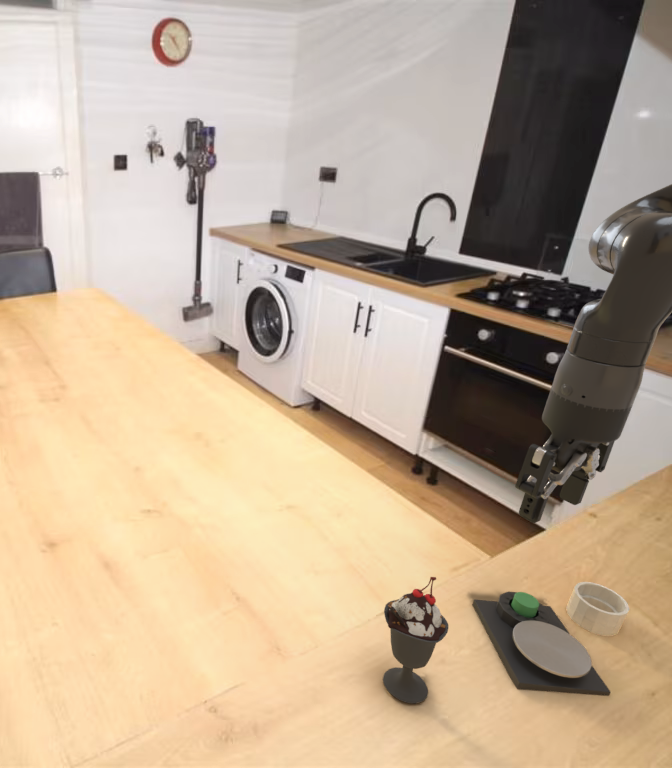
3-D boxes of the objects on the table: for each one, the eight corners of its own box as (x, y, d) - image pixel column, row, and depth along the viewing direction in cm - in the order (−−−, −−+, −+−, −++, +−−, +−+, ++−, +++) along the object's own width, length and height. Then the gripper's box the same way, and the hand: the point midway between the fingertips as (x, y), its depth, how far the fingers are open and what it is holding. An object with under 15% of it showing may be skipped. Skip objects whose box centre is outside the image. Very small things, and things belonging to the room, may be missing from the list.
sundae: (438, 675, 66) (457, 574, 61) (432, 720, 60) (452, 612, 55) (380, 654, 69) (394, 556, 64) (370, 694, 63) (384, 591, 58)
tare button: (529, 602, 73) (532, 592, 73) (539, 618, 71) (543, 608, 70) (507, 600, 74) (510, 590, 73) (517, 616, 71) (520, 606, 70)
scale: (545, 611, 75) (552, 595, 74) (607, 700, 63) (615, 682, 62) (470, 604, 76) (475, 588, 75) (516, 690, 64) (523, 673, 63)
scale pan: (566, 625, 69) (567, 623, 69) (606, 681, 62) (607, 679, 62) (500, 619, 70) (501, 617, 70) (532, 674, 63) (533, 671, 63)
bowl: (600, 608, 76) (610, 583, 74) (627, 642, 71) (640, 617, 69) (555, 604, 76) (565, 579, 75) (580, 638, 71) (591, 612, 69)
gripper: (592, 418, 55) (545, 544, 62) (663, 394, 61) (614, 511, 68) (520, 391, 62) (484, 508, 68) (591, 371, 67) (552, 481, 74)
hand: (549, 509), depth 68 cm, fingers open, 8 cm apart
